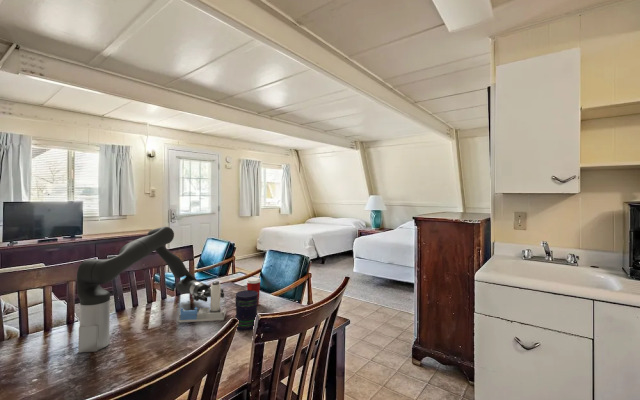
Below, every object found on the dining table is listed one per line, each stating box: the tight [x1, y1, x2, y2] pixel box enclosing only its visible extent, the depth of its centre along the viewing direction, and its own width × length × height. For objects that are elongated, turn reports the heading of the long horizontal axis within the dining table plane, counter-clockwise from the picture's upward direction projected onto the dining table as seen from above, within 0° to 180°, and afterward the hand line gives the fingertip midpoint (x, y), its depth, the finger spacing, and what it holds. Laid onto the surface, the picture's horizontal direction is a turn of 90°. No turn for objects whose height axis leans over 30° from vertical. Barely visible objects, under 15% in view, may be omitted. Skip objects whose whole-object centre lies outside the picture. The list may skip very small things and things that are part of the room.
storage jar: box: [235, 290, 259, 332], centre depth 134 cm, size 10×10×15 cm
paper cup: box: [245, 277, 262, 305], centre depth 162 cm, size 8×8×14 cm
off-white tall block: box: [209, 280, 222, 313], centre depth 144 cm, size 5×5×16 cm
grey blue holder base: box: [178, 306, 227, 323], centre depth 143 cm, size 8×20×6 cm, turn 101°
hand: (215, 297), depth 144 cm, fingers open, 8 cm apart
